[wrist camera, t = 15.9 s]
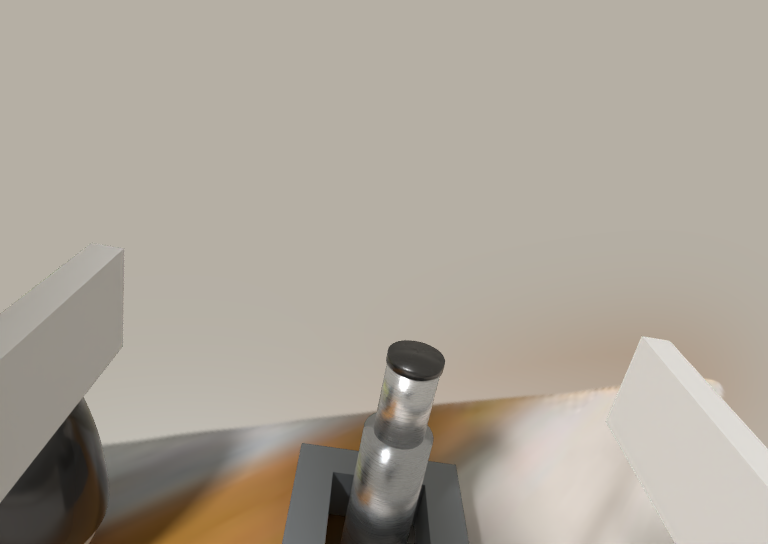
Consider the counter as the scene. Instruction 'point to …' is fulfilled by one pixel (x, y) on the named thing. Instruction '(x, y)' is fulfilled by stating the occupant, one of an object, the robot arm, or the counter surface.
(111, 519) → the counter surface
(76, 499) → the dark grey egg shape
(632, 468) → the robot arm
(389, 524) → the tube
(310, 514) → the socket block
